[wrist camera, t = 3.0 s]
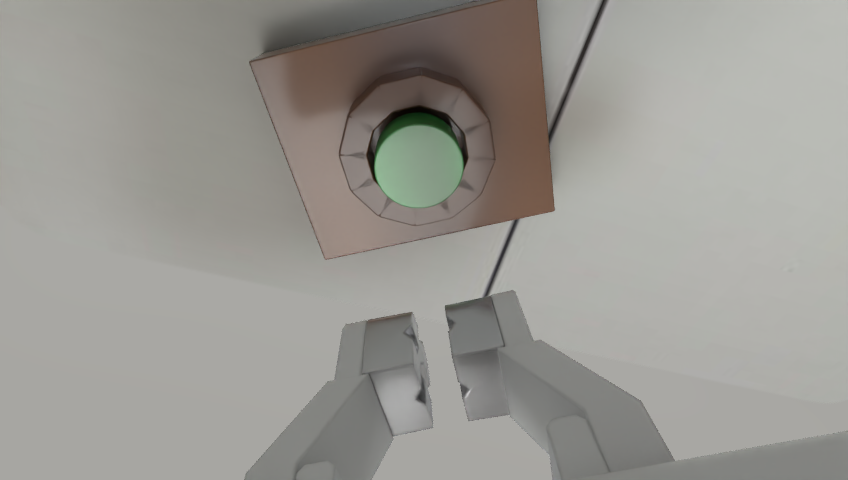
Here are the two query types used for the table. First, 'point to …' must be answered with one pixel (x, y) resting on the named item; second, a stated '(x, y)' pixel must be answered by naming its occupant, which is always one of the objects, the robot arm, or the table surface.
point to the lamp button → (418, 160)
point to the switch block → (408, 93)
